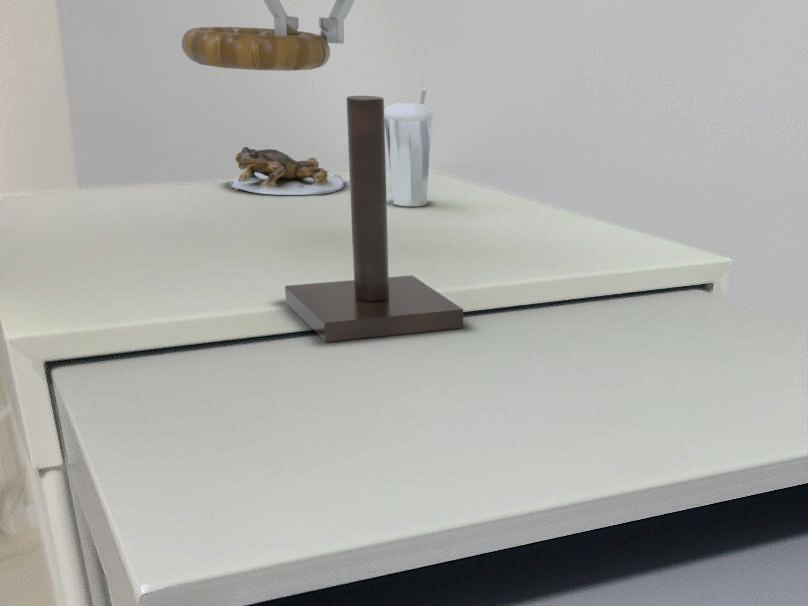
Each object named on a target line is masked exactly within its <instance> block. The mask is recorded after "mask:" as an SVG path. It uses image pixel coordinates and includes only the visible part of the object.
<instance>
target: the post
mask: <svg viewBox="0 0 808 606" xmlns="http://www.w3.org/2000/svg"><path fill="white" fill-rule="evenodd" d="M384 110H385V99H384V97H382V96H376V95H375V96H374V95H349V96H346V120H347V144H348V146H347V147H348V168H349V169H348V171H349V190H350V191H349V193H350V217H351V239H352V241H351V242H352V263H353V279H352V280H351V279H350V280H340V281H327V282H315V283H303V284H290V285H285V286H284V291H285V292H284V293H285V304H286V305H287V306H288V307H289V308H290V309H291V310H293V311H294V312H295V313H296V314H297V315H298V316H299V318H301V320H302V321H303V322H305V324H307V325H308V326H309V327H310V328H311V329H312V330H313V332H315V333H316V334H317V335H318V336H319V337H320V338H321V339H322V340H323V341H324V342H325V343H331V342H341V341H349V340H350V341H351V340H361V339H368V338H376V337H388V336H389V337H390V336H399V335H407V334H416V333H417V334H418V333H426V332H436V331H443V330H444V331H445V330H454V329H463V328H464V309H463V308H462V307H460V306H459V305H457V304H456V303H454V302H453V301H452V300H450V299H448V298H447V297H445V296H444V295H443V294H441V293H440V292H438V291H436V290H435V289H433V288H432V287H430V286H429V285H428V284H426V283H424V282H423V281H421V280H420V279H418V278H417V277H415V276H414V275H402V276H389V244H388V243H389V240H388V239H389V238H388V237H389V236H388V205H387V204H388V203H387V202H388V201H387V167H386V166H387V164H386V131H385V123H384Z"/></svg>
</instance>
